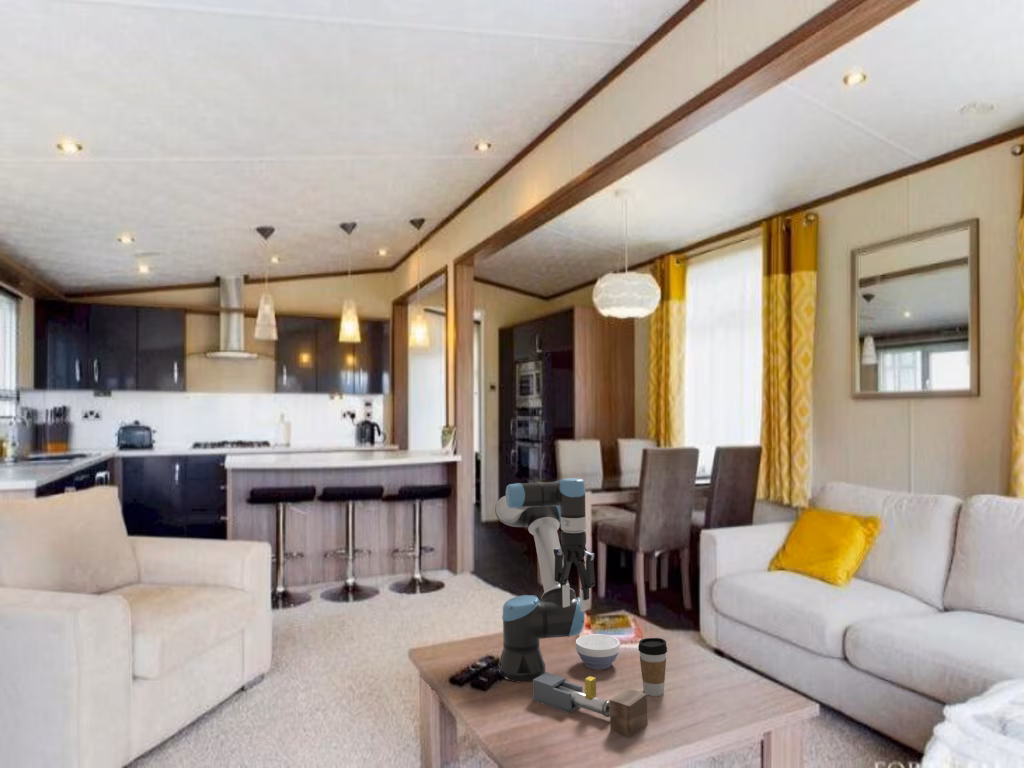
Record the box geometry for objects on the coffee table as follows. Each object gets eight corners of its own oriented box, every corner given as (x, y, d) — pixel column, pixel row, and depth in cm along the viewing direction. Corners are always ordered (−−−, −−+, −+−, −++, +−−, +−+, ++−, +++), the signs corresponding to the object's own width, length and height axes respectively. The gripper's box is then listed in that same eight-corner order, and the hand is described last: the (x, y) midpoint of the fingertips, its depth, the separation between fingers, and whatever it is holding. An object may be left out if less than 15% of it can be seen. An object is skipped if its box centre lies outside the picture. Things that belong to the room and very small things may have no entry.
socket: (610, 730, 173) (609, 699, 174) (627, 717, 180) (627, 687, 181) (630, 737, 170) (629, 706, 170) (647, 724, 176) (646, 693, 177)
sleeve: (533, 700, 192) (533, 679, 192) (547, 692, 197) (546, 672, 197) (569, 713, 183) (569, 691, 184) (582, 704, 188) (582, 683, 189)
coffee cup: (668, 699, 191) (667, 647, 191) (639, 697, 192) (637, 645, 193) (667, 686, 199) (666, 636, 199) (639, 684, 201) (638, 635, 201)
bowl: (629, 664, 217) (628, 640, 217) (602, 677, 206) (601, 653, 207) (594, 652, 227) (593, 630, 227) (566, 665, 217) (566, 642, 217)
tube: (540, 697, 192) (540, 666, 192) (549, 692, 195) (548, 662, 195) (605, 719, 177) (604, 686, 178) (613, 714, 180) (612, 681, 181)
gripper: (541, 529, 201) (542, 605, 200) (592, 536, 189) (594, 617, 188) (555, 525, 207) (557, 599, 206) (606, 532, 195) (608, 611, 194)
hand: (575, 608), depth 197 cm, fingers open, 6 cm apart
